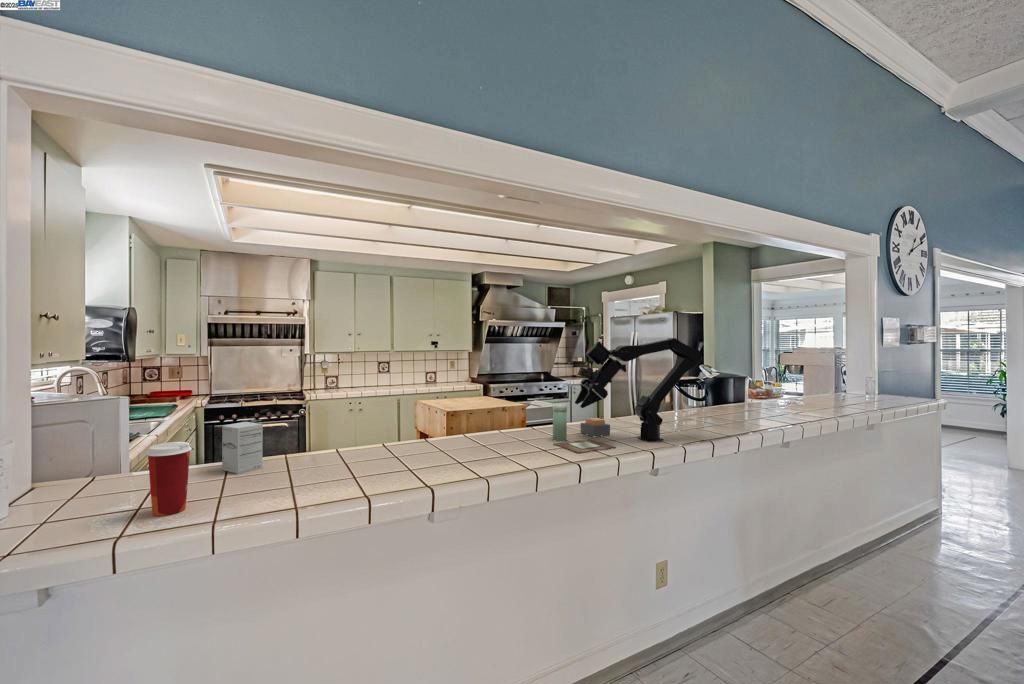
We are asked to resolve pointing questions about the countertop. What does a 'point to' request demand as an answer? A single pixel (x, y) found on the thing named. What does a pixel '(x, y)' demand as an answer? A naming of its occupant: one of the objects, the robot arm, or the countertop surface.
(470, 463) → the countertop surface
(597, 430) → the button box
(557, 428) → the green capped bottle
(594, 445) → the picture board
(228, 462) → the supplement box
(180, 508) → the paper cup
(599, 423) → the button
